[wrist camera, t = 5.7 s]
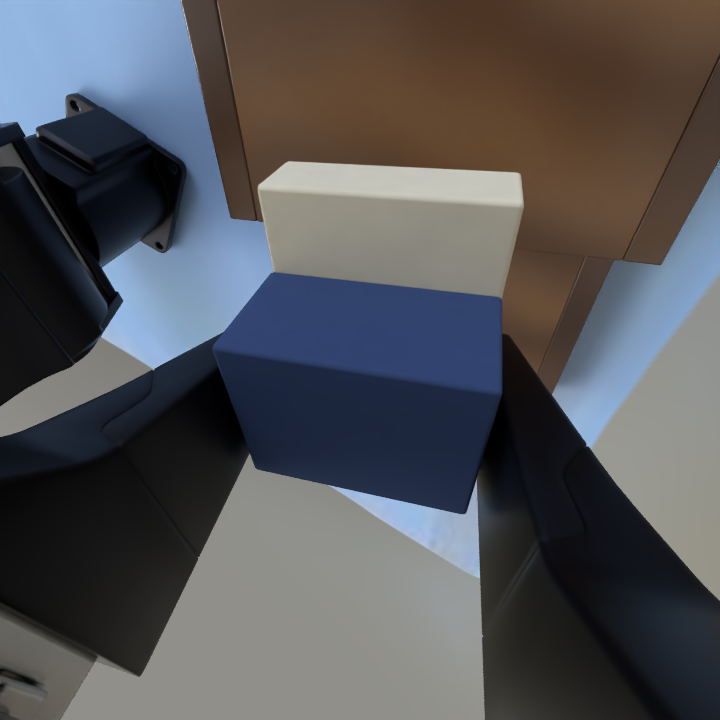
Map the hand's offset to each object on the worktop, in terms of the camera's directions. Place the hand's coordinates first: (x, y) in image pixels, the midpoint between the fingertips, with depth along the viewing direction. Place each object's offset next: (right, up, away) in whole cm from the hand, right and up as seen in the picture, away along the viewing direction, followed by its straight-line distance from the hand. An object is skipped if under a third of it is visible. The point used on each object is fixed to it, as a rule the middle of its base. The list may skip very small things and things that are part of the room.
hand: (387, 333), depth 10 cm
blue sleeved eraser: (0, 0, +1) cm, 1 cm away
